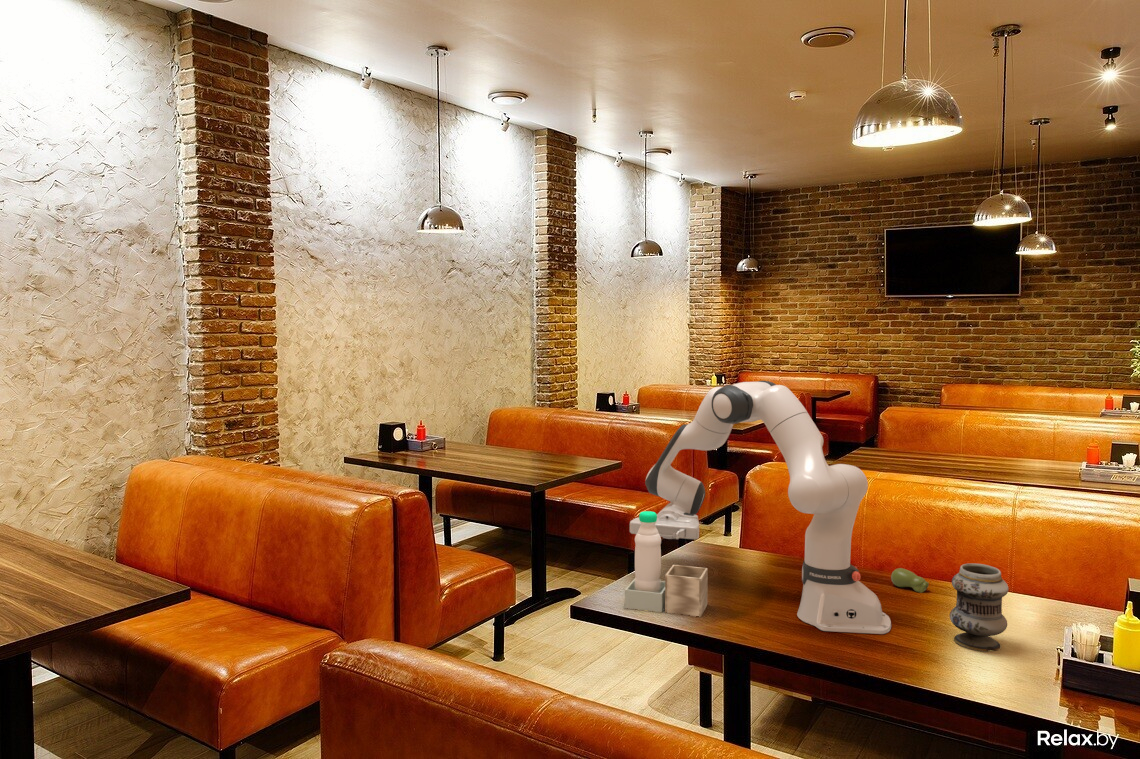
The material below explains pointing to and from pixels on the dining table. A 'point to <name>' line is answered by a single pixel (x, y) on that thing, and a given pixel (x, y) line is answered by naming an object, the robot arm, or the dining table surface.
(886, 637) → the dining table surface
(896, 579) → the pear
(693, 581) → the birch sleeve
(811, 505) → the robot arm
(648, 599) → the bottle caddy
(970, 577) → the apothecary jar
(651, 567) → the water bottle
